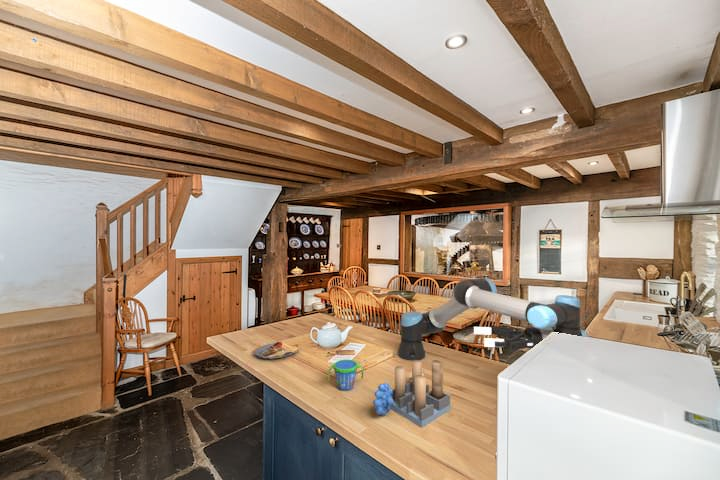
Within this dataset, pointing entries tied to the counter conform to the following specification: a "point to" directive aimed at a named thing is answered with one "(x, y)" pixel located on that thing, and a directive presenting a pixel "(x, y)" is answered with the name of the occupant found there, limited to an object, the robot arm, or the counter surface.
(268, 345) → the food plate
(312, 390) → the counter surface
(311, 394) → the counter surface
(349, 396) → the counter surface
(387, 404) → the grapes
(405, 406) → the stool
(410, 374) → the tiered building model
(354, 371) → the snack cup
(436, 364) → the loose leg
